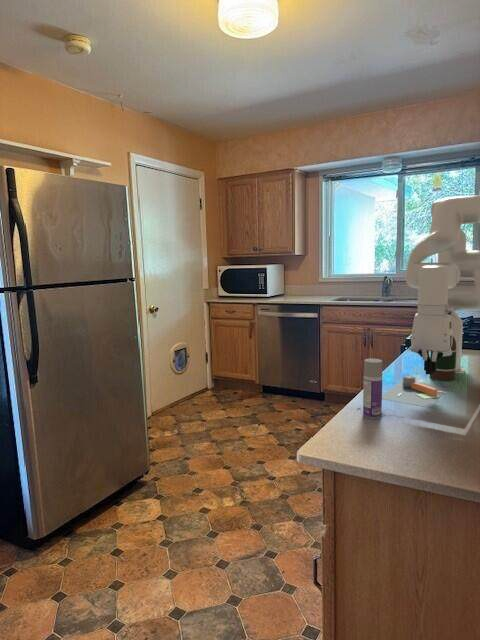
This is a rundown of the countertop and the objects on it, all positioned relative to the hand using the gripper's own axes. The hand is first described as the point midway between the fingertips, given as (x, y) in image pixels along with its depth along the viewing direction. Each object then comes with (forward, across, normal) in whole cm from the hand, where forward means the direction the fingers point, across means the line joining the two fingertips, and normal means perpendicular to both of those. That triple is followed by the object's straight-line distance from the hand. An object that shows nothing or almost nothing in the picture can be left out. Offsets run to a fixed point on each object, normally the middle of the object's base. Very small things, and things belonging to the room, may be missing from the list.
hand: (430, 373), depth 123 cm
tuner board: (+8, +4, -2) cm, 9 cm away
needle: (+7, +4, -4) cm, 9 cm away
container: (+8, +9, +20) cm, 24 cm away
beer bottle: (+9, +1, -22) cm, 24 cm away
